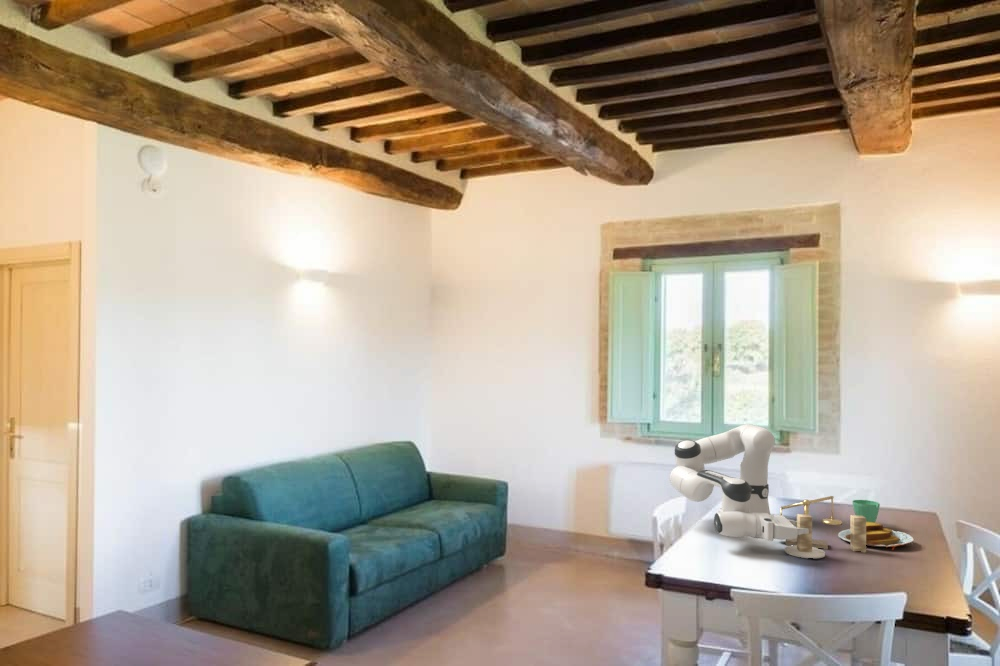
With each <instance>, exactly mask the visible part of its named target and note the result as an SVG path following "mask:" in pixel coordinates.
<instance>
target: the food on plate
mask: <svg viewBox="0 0 1000 666" xmlns="http://www.w3.org/2000/svg"><path fill="white" fill-rule="evenodd" d="M845 536H846V537H845ZM837 537H838V538H840V539H842V540H843V541H846V542H849V543H850V528H848V529H847V528H846V529H844V530H841V531H839V532H838V534H837ZM844 537H845V538H844ZM914 540H915V539H914V537H913V536H912V535H911V534H908V533H906V532H902V531H895V530H893V529H891V528H885V527H884V526H883V524H881V523H879V522H875V523H874V522H866V545H867V546H866V547H877V548H878V547H879V548H880V547H881V548H882V547H883V548H888V547H892V548H891V551H895V548H896V547H900V546H905V545H908V544H911V545H913V542H914Z"/></svg>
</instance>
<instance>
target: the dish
mask: <svg viewBox="0 0 1000 666" xmlns="http://www.w3.org/2000/svg"><path fill="white" fill-rule="evenodd" d="M784 553H785V554H787V555H790V556H792V557H796V558H800V557H801V559H808V558H813V559H822V558H824V557H826V552H825V551H824V549H818V548H814V547H812V552H800V551H799V550H798V549H797V545H793V546H790V545H786V546H785V547H784Z"/></svg>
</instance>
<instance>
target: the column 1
mask: <svg viewBox="0 0 1000 666" xmlns="http://www.w3.org/2000/svg"><path fill="white" fill-rule="evenodd" d="M796 521H797V527H796V528H808V529H809V534H800V535H797V549H798V550H799V551H800V552H812V539H813V517H812V516H811V515H810V514H809V515H804V513H803V514H801V513H796Z"/></svg>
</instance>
